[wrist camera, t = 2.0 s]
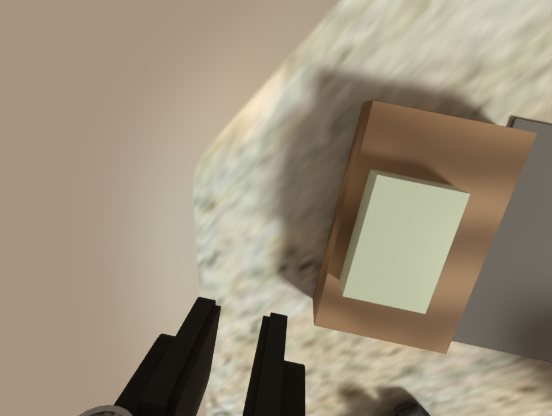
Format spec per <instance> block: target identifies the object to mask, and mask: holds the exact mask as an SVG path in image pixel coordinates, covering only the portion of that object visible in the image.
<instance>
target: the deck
mask: <svg viewBox="0 0 552 416" xmlns="http://www.w3.org/2000/svg"><path fill="white" fill-rule="evenodd" d="M536 135H537V133H534V132H529V131H524V130H519V129H514V128H509V127H504V126H499V125H494V124H489V123H484V122H479V121H474V120H469V119H464V118H459V117H454V116H449V115H444V114H439V113H434V112H429V111H424V110H419V109H414V108H409V107H404V106H399V105H394V104H389V103H384V102H379V101H368V102H363V106H362V110H361V113H360V117H359V121H358V125H357V129H356V133H355V137H354V141H353V145H352V149H351V153H350V156H349V160H348V164H347V168H346V172H345V176H344V180H343V184H342V188H341V192H340V195H339V199H338V203H337V207H336V211H335V215H334V219H333V223H332V227H331V231H330V234H329V238H328V242H327V246H326V250H325V254H324V258H323V262H322V266H321V270H320V273H319V277H318V281H317V285H316V289H315V293H314V297H313V313H314V325H315V326H319V327H324V328H329V329H333V330H338V331H342V332H347V333H352V334H356V335H361V336H365V337H370V338H375V339H379V340H384V341H388V342H393V343H398V344H402V345H407V346H412V347H416V348H421V349H425V350H430V351H435V352H439V353H444V354H446V353H447V350H448V348H449V346H450V343H451V341H452V338H453V336H454V333H455V331H456V329H457V326H458V324H459V321H460V319H461V317H462V314H463V312H464V309H465V307H466V304H467V302H468V300H469V297H470V295H471V292H472V290H473V287H474V285H475V283H476V280H477V278H478V275H479V273H480V270H481V268H482V266H483V263H484V261H485V258H486V256H487V253H488V251H489V249H490V246H491V244H492V241H493V239H494V236H495V234H496V232H497V229H498V227H499V224H500V222H501V220H502V217H503V215H504V212H505V210H506V207H507V205H508V203H509V200H510V198H511V195H512V193H513V190H514V188H515V186H516V183H517V181H518V178H519V176H520V173H521V171H522V169H523V166H524V164H525V161H526V159H527V156H528V154H529V152H530V149H531V147H532V144H533V142H534V140H535V137H536ZM370 169H374V170H379V171H384V172H388V173H393V174H398V175H403V176H408V177H413V178H418V179H423V180H428V181H432V182H437V183H442V184H447V185H452V186H455V187H457V188H459V189H461V190H463V191H466V192H468V193H470V196H469V199H468V202H467V204H466V207H465V210H464V212H463V215H462V218H461V220H460V223H459V226H458V228H457V231H456V234H455V236H454V239H453V242H452V244H451V247H450V250H449V252H448V255H447V258H446V260H445V263H444V266H443V268H442V271H441V274H440V276H439V279H438V282H437V284H436V287H435V290H434V292H433V295H432V298H431V300H430V303H429V306H428V308H427V311H426V314H423V313H418V312H414V311H409V310H404V309H400V308H395V307H390V306H386V305H381V304H376V303H372V302H367V301H362V300H358V299H353V298H348V297H344V296H342V291H341V286H340V281H339V279H340V276H341V272H342V268H343V265H344V261H345V258H346V254H347V250H348V247H349V243H350V240H351V236H352V232H353V229H354V225H355V222H356V218H357V214H358V211H359V207H360V204H361V200H362V196H363V193H364V189H365V186H366V182H367V178H368V175H369V171H370Z"/></svg>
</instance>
